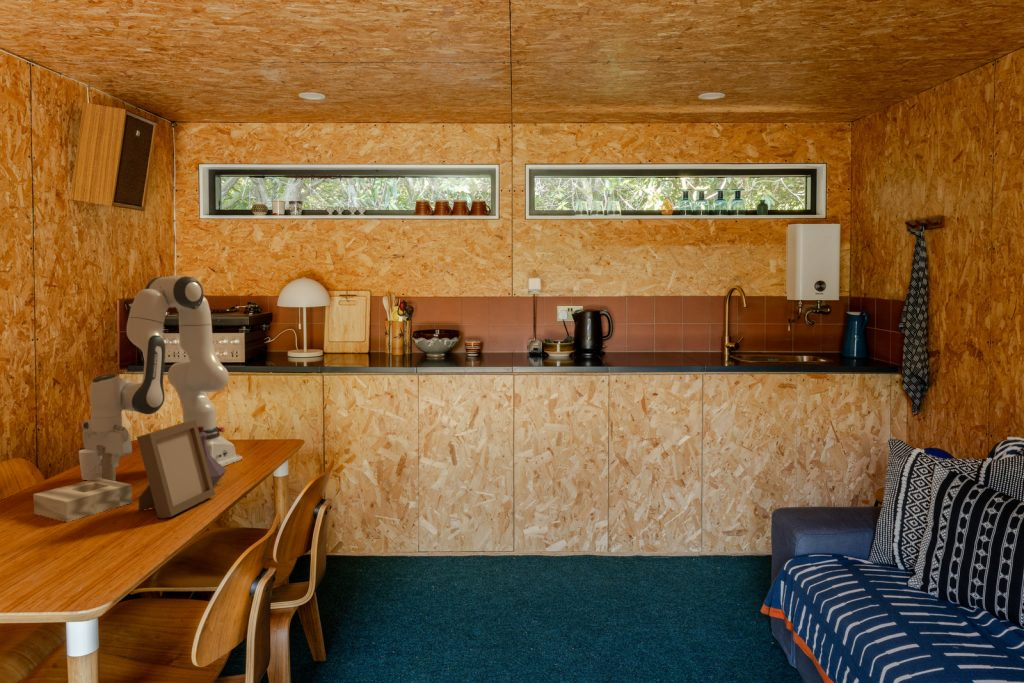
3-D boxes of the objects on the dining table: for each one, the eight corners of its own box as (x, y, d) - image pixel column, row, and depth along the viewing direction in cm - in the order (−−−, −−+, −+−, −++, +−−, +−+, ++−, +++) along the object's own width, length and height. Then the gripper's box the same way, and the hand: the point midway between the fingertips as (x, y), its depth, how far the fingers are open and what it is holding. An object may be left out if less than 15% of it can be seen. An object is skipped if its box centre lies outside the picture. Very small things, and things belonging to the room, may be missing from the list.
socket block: (99, 496, 231) (98, 477, 231) (131, 503, 224) (131, 484, 224) (34, 513, 214) (33, 494, 213) (67, 522, 206) (66, 501, 206)
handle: (116, 491, 236) (114, 446, 235) (95, 492, 236) (93, 446, 235) (122, 487, 241) (121, 443, 240) (102, 487, 241) (100, 443, 239)
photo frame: (215, 497, 230) (211, 420, 228) (171, 519, 209) (167, 434, 207) (173, 495, 233) (169, 419, 231) (126, 517, 212) (121, 433, 210)
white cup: (111, 476, 254) (110, 448, 254) (91, 482, 247) (90, 453, 246) (94, 474, 257) (93, 446, 256) (74, 480, 250) (73, 451, 249)
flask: (173, 494, 234) (171, 433, 232) (175, 481, 249) (173, 424, 247) (228, 489, 240) (226, 429, 238) (226, 476, 255) (224, 420, 253)
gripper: (136, 425, 235) (137, 467, 236) (96, 419, 244) (98, 460, 245) (117, 429, 229) (119, 471, 230) (78, 423, 238) (80, 464, 240)
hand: (108, 465), depth 238 cm, fingers closed on handle, 5 cm apart
